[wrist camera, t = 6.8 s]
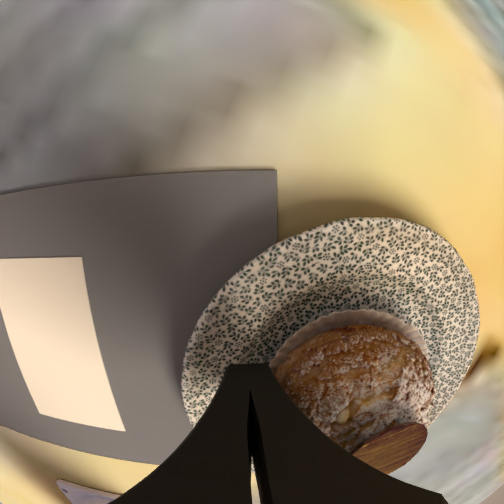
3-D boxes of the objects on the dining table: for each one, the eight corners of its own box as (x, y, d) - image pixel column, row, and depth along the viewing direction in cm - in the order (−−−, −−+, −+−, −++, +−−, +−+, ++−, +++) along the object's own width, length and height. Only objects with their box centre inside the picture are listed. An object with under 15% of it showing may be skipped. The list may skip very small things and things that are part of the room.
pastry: (343, 135, 9) (428, 104, 4) (493, 328, 11) (553, 369, 7) (127, 389, 10) (91, 477, 6) (329, 483, 13) (349, 547, 8)
